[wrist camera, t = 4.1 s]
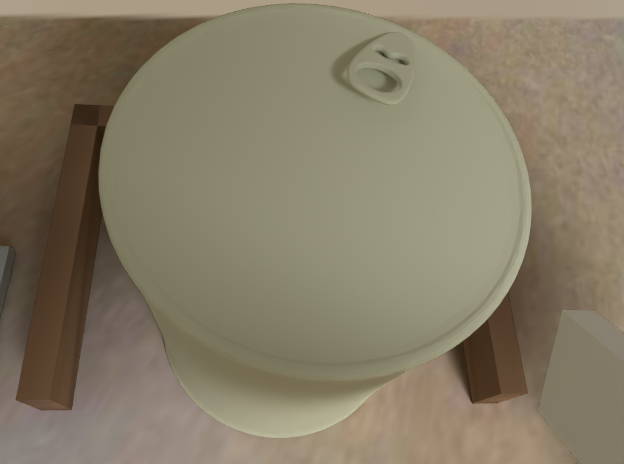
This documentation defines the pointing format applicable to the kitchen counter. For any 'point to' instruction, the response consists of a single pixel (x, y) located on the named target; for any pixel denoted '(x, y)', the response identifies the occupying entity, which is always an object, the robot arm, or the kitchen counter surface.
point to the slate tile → (5, 271)
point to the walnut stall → (78, 275)
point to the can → (310, 209)
